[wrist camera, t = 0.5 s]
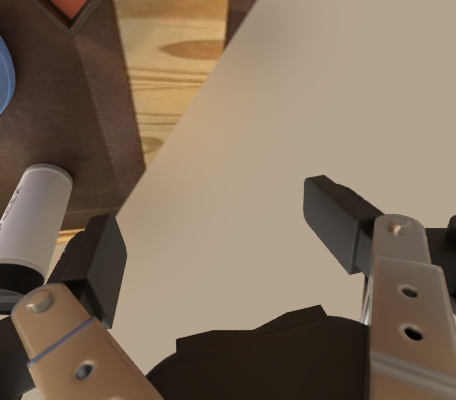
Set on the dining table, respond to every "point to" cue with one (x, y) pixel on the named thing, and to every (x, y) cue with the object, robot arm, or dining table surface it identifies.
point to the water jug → (6, 76)
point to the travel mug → (31, 231)
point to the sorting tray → (67, 12)
